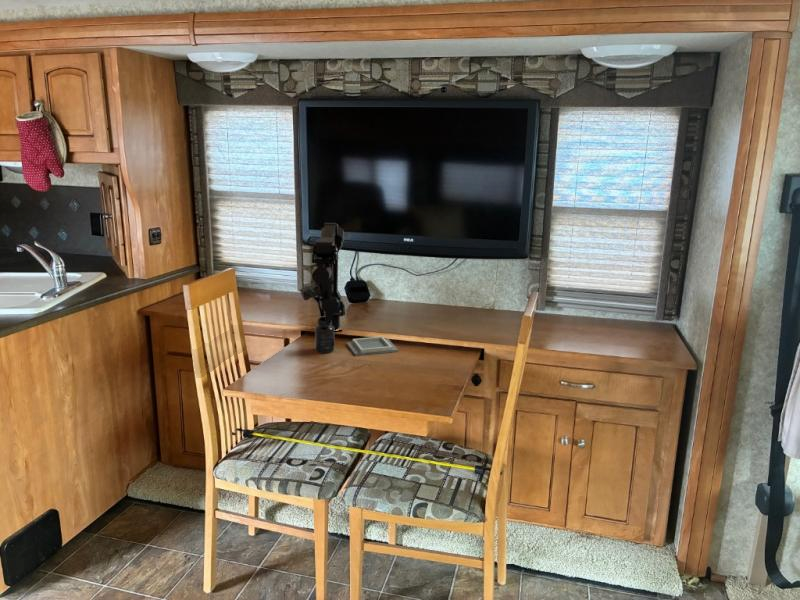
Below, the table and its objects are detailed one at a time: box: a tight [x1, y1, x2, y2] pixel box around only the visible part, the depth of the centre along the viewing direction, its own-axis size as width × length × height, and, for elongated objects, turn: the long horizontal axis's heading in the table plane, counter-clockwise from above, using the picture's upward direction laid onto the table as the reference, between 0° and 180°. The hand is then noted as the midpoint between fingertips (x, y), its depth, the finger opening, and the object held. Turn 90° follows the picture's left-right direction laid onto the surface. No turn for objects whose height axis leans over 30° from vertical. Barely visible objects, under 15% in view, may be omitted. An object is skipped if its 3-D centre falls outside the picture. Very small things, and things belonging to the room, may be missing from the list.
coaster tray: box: [346, 336, 399, 357], centre depth 221 cm, size 12×16×2 cm
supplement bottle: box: [314, 316, 336, 354], centre depth 216 cm, size 7×7×12 cm
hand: (325, 320), depth 215 cm, fingers open, 9 cm apart
